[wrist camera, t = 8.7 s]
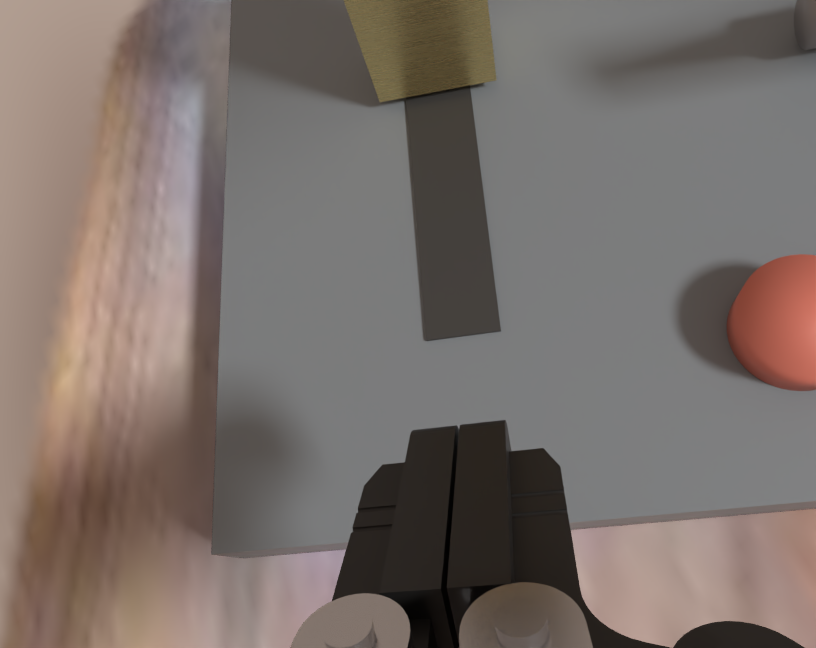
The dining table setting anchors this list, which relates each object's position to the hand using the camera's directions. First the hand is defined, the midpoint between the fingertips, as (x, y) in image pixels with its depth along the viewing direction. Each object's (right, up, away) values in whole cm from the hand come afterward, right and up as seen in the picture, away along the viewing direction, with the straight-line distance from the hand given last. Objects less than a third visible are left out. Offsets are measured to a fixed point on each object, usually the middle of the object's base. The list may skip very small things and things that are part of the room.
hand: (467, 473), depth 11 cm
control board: (+5, +7, +10) cm, 14 cm away
